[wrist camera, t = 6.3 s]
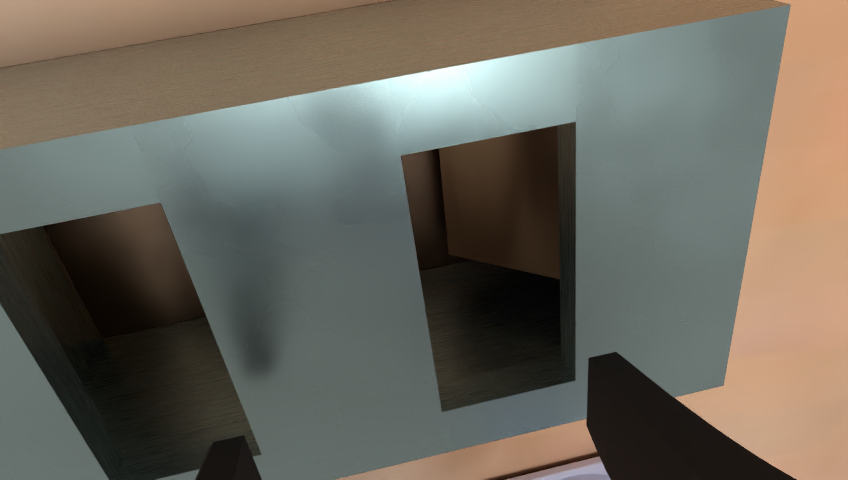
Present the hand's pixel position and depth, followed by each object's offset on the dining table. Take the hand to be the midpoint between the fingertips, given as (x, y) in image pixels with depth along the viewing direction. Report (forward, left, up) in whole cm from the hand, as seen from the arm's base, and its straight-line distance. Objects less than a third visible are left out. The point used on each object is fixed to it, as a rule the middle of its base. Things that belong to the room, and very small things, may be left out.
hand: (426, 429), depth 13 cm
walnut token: (+2, -3, -8) cm, 9 cm away
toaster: (+2, +1, -9) cm, 9 cm away
